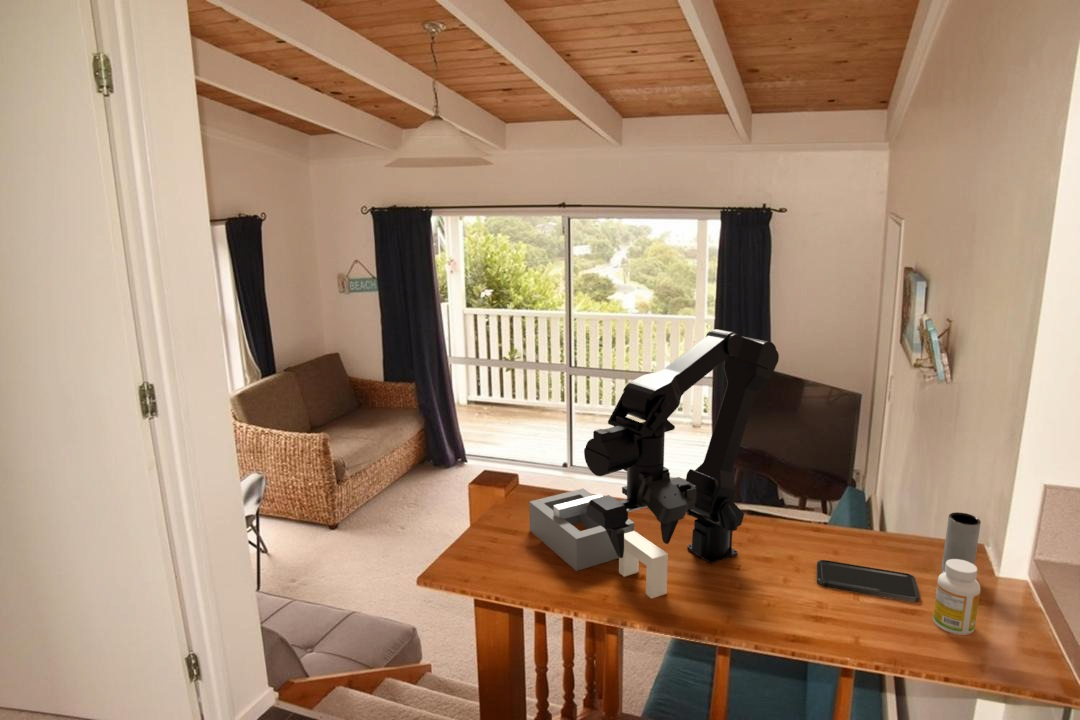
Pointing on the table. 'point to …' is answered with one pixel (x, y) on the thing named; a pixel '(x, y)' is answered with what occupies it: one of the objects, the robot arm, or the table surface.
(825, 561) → the phone
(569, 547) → the frame
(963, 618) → the supplement bottle
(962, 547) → the grey hollow cylinder
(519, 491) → the table surface
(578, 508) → the cross bar
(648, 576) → the cream block
